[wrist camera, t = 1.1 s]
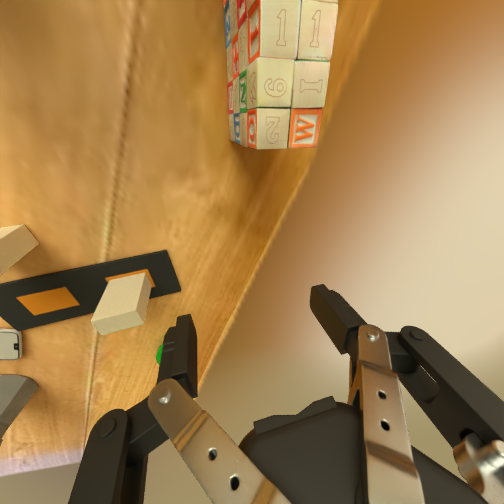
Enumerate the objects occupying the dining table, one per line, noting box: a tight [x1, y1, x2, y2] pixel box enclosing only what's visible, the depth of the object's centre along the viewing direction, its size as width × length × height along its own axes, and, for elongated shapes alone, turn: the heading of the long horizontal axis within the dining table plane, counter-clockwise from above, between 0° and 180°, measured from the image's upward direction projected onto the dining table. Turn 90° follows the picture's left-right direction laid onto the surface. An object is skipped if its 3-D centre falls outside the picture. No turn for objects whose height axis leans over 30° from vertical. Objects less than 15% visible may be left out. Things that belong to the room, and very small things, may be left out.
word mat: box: [0, 250, 181, 331], centre depth 33 cm, size 26×9×1 cm, turn 94°
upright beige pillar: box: [90, 272, 152, 336], centre depth 30 cm, size 3×6×8 cm, turn 94°
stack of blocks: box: [223, 0, 338, 149], centre depth 18 cm, size 21×6×12 cm, turn 0°
